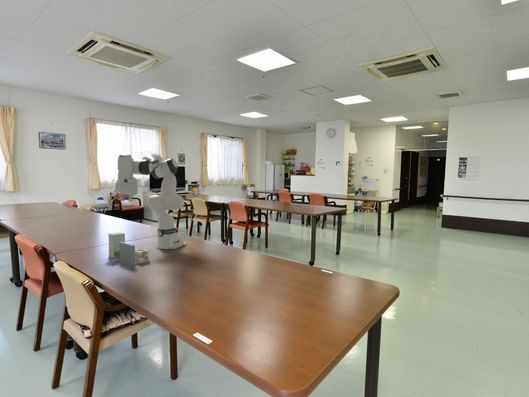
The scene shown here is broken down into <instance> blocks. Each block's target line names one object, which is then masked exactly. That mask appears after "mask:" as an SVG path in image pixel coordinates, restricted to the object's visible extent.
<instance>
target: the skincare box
mask: <svg viewBox="0 0 529 397" xmlns="http://www.w3.org/2000/svg"><path fill="white" fill-rule="evenodd" d="M119 242H125V243H126V233H125V232H121V231H119V232H112V233H108V257H109V258H111V259H118V258H120V244H119Z"/></svg>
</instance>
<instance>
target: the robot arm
mask: <svg viewBox="0 0 529 397" xmlns="http://www.w3.org/2000/svg"><path fill="white" fill-rule="evenodd" d="M178 166H179V165H178V162H177V161H176V160H175V159H173V158H167V159H166V160H163V157H162V156H161V155H160V154H157V153H149V154H147V155H144V156H143V157H142V159H133V156H132V154H129V153H127V154H126V153H124V154H120V155H118V157H117V171H118V172H117V180H116V182H115V184H114V185H115V186H114V192H115V194H118V196H119V201H121V202H123V201H125V198H124V195H128V200H127V201H128V202H130V203H132V202H133V198H134V196H137V194H138V191H139V190H138V179H137V178H135V177H134V175H140V176H141V175H142V176H143V175H144V176H150V175H151V176H152V177H153V178H154V179H155V180H157V179H161V178H163V179H162V181H161V186H160V193H161V194H156V195H155V194H154V195H150V196H149V197H148V198H147V206H148V208H149V209H150V210H152V212H154V213H155V216H156V218H157V224H158V226H157V227H158V228H157V235H158V236H157V243H156V249H160V250H168V249H171V250H172V249H173V250H175V249H178V248H181V247H184V246H186V245H187V242H185V241H184V237H183V236H182V235H181V234H180V233H178V232H177V231H179V228H178V227H175V218H174V217H173V216H172V215H171V214H170V213H169V214H168V213H167V211H175V210H181V209H182V208H183V207H184V204H185V200H184V198H183V197H182V196H181V195H179V194H178V193H177V191H176V190H177V178H176V175H175V174H177V171H178V168H179V167H178ZM183 245H184V246H183Z"/></svg>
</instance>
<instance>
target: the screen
mask: <svg viewBox="0 0 529 397" xmlns="http://www.w3.org/2000/svg"><path fill="white" fill-rule="evenodd" d="M119 244H120V257H119V259H116V262H117V263H118V262H119V263H121V264H124V265H127V266H129V267H132V266H136V265H138V264H139V263H138V262H135V251H136V249H135V248H136V245H134V244H131V243H128V242H126V241H125V242H119Z"/></svg>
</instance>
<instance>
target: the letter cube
mask: <svg viewBox="0 0 529 397" xmlns="http://www.w3.org/2000/svg"><path fill="white" fill-rule="evenodd" d="M149 254H150V253H149V250H148V249H145V248H142V249H137V250H136V249H135V261H138V262H142V261H146V260H150V259H149Z"/></svg>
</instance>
